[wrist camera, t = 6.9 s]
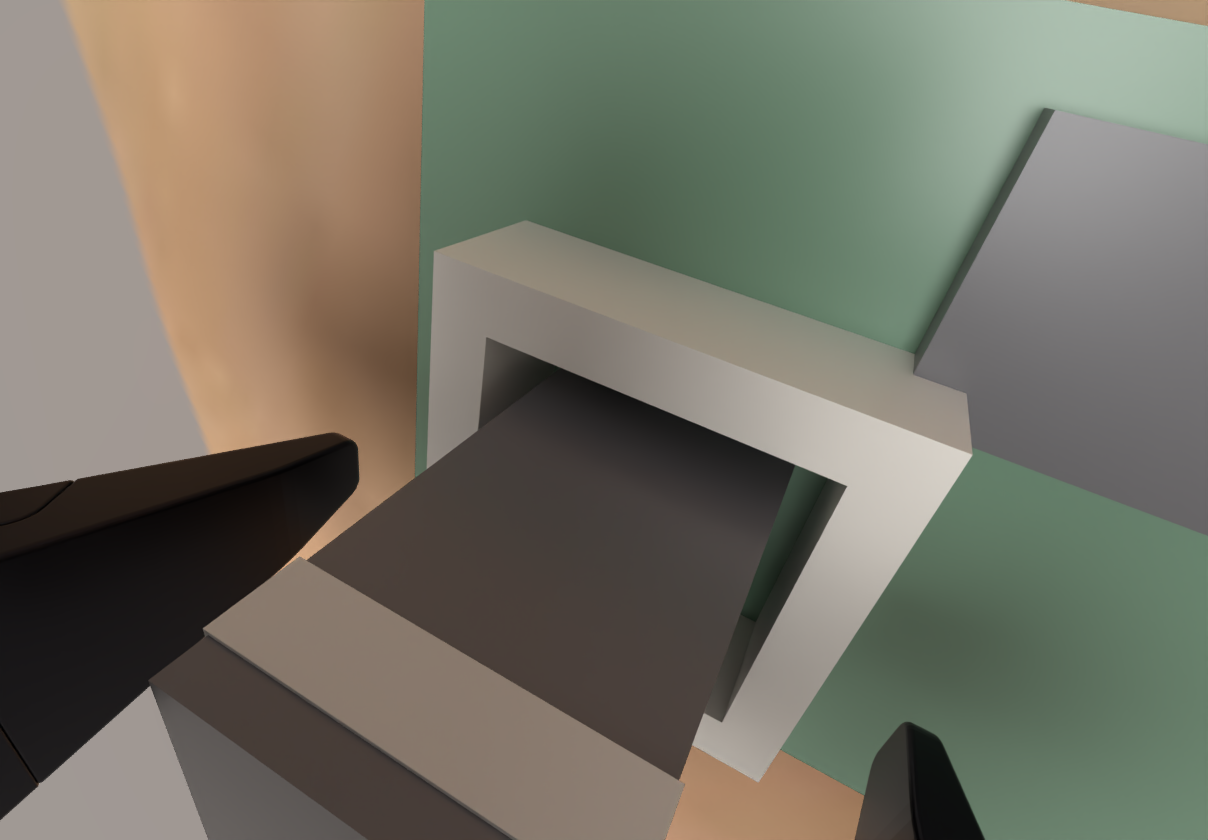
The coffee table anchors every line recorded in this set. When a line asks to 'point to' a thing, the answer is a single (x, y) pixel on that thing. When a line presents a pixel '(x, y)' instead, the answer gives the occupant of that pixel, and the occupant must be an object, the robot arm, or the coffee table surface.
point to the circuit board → (873, 353)
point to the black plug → (488, 639)
